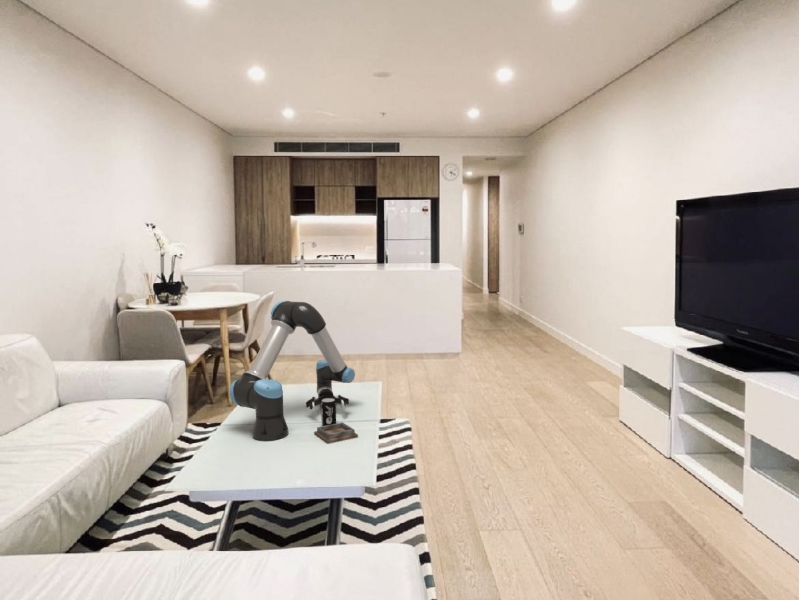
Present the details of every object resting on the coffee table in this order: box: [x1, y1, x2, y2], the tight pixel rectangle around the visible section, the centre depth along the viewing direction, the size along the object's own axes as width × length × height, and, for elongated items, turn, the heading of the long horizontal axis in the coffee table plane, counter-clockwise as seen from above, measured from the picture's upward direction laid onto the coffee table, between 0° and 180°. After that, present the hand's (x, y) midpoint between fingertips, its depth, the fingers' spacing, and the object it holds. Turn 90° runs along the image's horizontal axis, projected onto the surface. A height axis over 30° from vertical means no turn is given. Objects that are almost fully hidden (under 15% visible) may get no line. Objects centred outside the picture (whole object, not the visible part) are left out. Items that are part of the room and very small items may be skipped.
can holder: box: [313, 422, 359, 445], centre depth 243 cm, size 14×14×3 cm
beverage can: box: [320, 398, 337, 427], centre depth 256 cm, size 7×7×12 cm
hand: (328, 407), depth 262 cm, fingers open, 13 cm apart
